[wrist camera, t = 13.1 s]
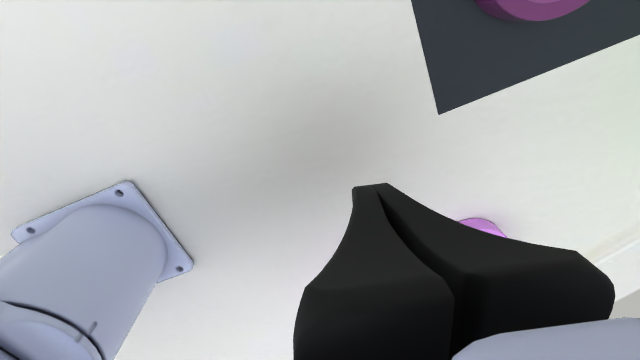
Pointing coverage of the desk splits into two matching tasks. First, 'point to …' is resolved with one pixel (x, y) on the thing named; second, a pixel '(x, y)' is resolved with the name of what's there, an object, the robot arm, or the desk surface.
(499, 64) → the placemat
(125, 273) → the robot arm
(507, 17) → the plum dish
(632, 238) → the desk surface
